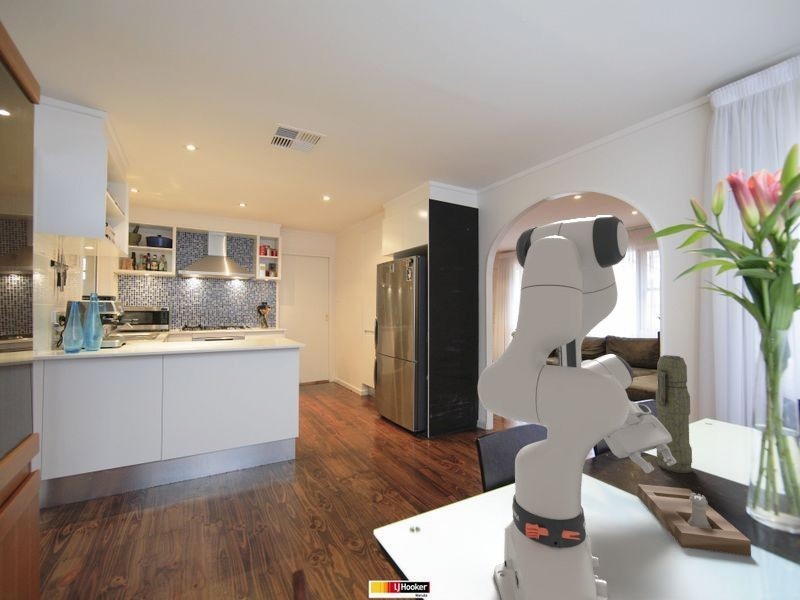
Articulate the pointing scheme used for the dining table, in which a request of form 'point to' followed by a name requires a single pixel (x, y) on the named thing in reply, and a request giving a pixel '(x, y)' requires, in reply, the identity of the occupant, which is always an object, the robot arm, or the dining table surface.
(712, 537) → the block
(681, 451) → the thermos
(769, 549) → the dining table surface
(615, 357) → the robot arm
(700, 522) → the rook chess piece
